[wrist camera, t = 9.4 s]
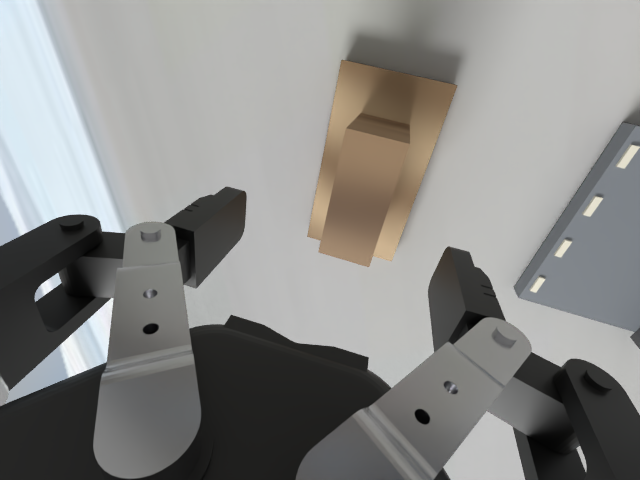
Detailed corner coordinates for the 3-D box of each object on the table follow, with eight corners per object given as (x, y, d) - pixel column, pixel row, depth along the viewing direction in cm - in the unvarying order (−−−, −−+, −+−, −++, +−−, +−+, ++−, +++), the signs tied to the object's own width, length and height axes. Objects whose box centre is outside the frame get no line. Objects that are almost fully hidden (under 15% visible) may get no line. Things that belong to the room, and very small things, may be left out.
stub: (345, 60, 19) (318, 58, 14) (454, 84, 18) (474, 93, 13) (311, 229, 25) (283, 276, 20) (392, 253, 25) (387, 309, 19)
